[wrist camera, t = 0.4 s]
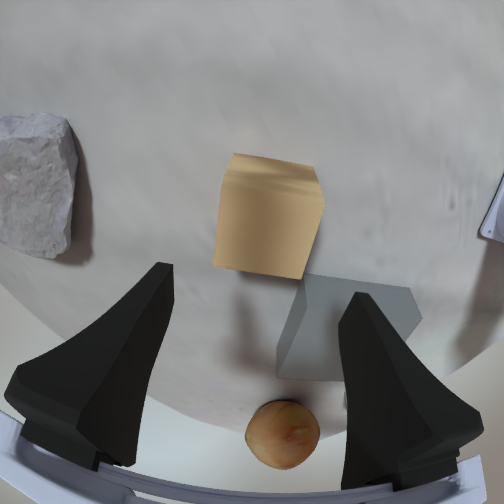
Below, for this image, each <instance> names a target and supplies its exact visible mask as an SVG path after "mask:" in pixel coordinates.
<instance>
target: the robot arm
mask: <svg viewBox="0 0 504 504" xmlns="http://www.w3.org/2000/svg"><path fill="white" fill-rule="evenodd" d="M480 234H481V235H482V236H484V237H487V238H490V239H493V240H496V241H499V242H502V243H504V177H503V180H502V182H501V185H500V187H499V189H498V192H497V194H496V196H495V199H494V201H493V203H492V205H491V207H490V210H489V212H488V214H487V216H486V218H485V220H484V222H483V224H482V226H481V228H480ZM173 305H174V278H173V264H168V263H162V262H157V263H156V264H155V265H154V266H153V267H152V268H151V269H150V270H149V271H148V272H147V273H146V274H145V275H144V276H143V277H142V279H141V280H140V281H139V282H138V283H137V284H136V285H135V286H134V287H133V288H132V289H131V290H130V291H128V292H127V293H126V294H125V295H124V296H123V297H122V298H121V299H120V300H119V301H118V302H117V303H116V304H115V305H113V306H112V307H111V308H110V309H109V310H108V311H107V312H106V313H104V314H103V315H102V316H101V317H100V318H98V319H97V320H96V321H94V322H93V323H92V324H91V325H89V326H88V327H87V328H85V329H84V330H82V331H81V332H79V333H78V334H77V335H75V336H74V337H72V338H71V339H69V340H67V341H66V342H64V343H63V344H61V345H59V346H57V347H55V348H54V349H52V350H50V351H48V352H47V353H45V354H43V355H41V356H39V357H36V358H34V359H32V360H30V361H27V362H25V363H23V364H20V365H18V366H17V368H16V370H15V372H14V374H13V375H12V378H11V380H10V382H9V384H8V386H7V389H6V391H5V393H4V397H5V399H6V401H7V402H8V403H9V404H10V405H11V406H12V407H13V408H14V409H15V410H17V411H18V412H19V413H20V414H21V415H22V416H23V417H25V418H26V420H25V423H24V424H22V423H21V422H19V421H18V420H16V419H14V418H13V417H11V416H9V415H8V414H6V413H4V412H3V411H1V410H0V477H1V478H2V479H4V480H5V481H6V482H8V483H9V484H11V485H12V486H13V487H15V488H16V489H18V490H19V491H21V492H22V493H24V494H25V495H27V496H28V497H29V498H31V499H32V500H34V501H36V502H37V503H39V504H164V503H160V502H156V501H152V500H148V499H144V498H141V497H137V496H136V495H135V493H134V491H133V490H135V491H139V492H143V493H146V494H150V495H154V496H159V497H163V498H167V499H172V500H177V501H182V502H188V503H194V504H481V503H483V502H484V501H486V500H487V496H486V489H485V481H484V475H483V469H482V464H481V459H480V455H479V454H477V455H475V456H472V457H470V458H467V459H464V460H462V461H460V462H457V461H456V457H458V456H459V455H460V452H459V448H460V447H462V446H464V445H466V444H467V443H469V442H470V441H472V440H474V439H475V438H477V437H478V436H479V435H481V434H482V433H483V431H484V427H483V423H482V419H481V415H480V412H479V411H477V410H476V409H474V408H473V407H471V406H470V405H468V404H467V403H465V402H464V401H463V400H461V399H460V398H459V397H458V396H456V395H455V394H454V393H452V392H451V391H450V390H449V389H448V388H446V386H444V385H443V384H442V383H441V382H440V381H439V380H438V379H437V378H436V377H435V376H434V375H433V374H432V373H431V372H430V371H429V370H428V369H427V368H426V367H425V366H424V365H423V364H422V362H421V361H420V360H419V359H418V358H417V357H416V356H415V354H414V353H413V352H412V351H411V350H410V348H409V347H408V346H407V345H406V343H405V342H404V341H403V339H402V338H401V337H400V335H399V334H398V333H397V331H396V330H395V329H394V327H393V326H392V325H391V323H390V322H389V320H388V319H387V318H386V316H385V315H384V313H383V312H382V311H381V309H380V308H379V306H378V305H377V304H376V302H375V301H374V300H373V298H372V297H371V296H370V295H369V293H364V292H356V291H355V293H354V295H353V297H352V299H351V301H350V303H349V304H348V306H347V308H346V310H345V312H344V314H343V316H342V318H341V319H340V321H339V323H338V340H339V351H340V357H341V363H342V369H343V375H344V382H345V388H346V397H347V441H346V454H345V462H344V469H343V475H342V481H341V490H339V491H328V492H313V493H256V492H240V491H229V490H219V489H212V488H205V487H198V486H192V485H186V484H181V483H176V482H171V481H166V480H162V479H158V478H153V477H149V476H146V475H142V474H138V473H135V472H131V471H128V470H124V469H121V468H118V467H115V466H113V465H117V466H125V467H130V466H132V465H134V464H135V463H136V452H137V444H138V437H139V430H140V423H141V417H142V411H143V407H144V401H145V397H146V392H147V387H148V383H149V379H150V375H151V372H152V369H153V366H154V363H155V360H156V357H157V355H158V352H159V349H160V347H161V344H162V341H163V338H164V336H165V333H166V330H167V327H168V325H169V321H170V317H171V313H172V309H173ZM131 489H132V490H131Z"/></svg>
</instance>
